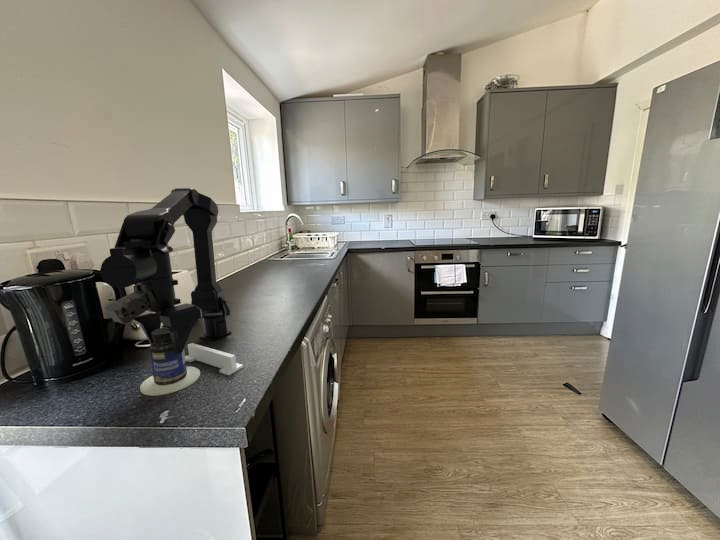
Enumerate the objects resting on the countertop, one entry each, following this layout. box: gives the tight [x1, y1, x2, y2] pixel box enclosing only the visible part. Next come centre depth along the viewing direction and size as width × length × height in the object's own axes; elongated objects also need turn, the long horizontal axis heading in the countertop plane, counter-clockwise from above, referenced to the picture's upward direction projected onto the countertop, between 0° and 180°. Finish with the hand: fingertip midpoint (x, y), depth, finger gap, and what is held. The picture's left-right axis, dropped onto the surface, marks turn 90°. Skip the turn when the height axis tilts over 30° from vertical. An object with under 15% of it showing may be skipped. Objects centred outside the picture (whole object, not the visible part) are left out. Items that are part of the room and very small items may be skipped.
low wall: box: [185, 342, 244, 376], centre depth 71 cm, size 17×4×4 cm, turn 62°
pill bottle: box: [148, 327, 187, 385], centre depth 63 cm, size 6×6×11 cm
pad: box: [139, 365, 201, 397], centre depth 64 cm, size 11×11×1 cm
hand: (166, 348), depth 63 cm, fingers open, 9 cm apart
